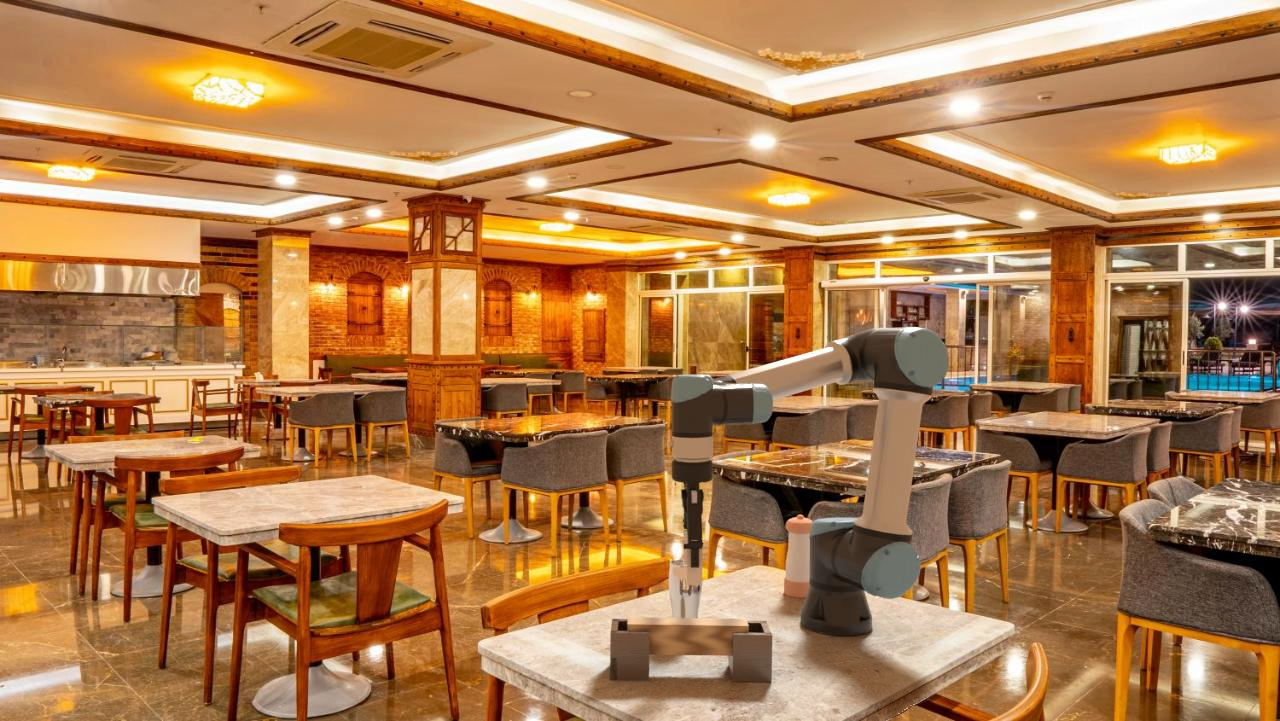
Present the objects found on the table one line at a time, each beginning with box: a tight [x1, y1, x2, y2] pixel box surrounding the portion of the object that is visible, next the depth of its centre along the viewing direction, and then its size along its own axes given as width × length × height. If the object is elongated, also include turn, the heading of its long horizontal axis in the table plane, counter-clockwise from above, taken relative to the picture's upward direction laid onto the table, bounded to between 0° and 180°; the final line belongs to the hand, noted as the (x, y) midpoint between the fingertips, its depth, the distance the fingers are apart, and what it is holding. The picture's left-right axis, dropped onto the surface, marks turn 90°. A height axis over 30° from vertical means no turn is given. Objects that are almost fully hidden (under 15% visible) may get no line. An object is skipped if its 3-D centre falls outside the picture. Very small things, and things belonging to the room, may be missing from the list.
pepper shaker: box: [783, 514, 814, 599], centre depth 212 cm, size 7×7×19 cm
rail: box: [627, 616, 749, 657], centre depth 161 cm, size 22×4×6 cm, turn 90°
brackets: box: [609, 618, 773, 683], centre depth 161 cm, size 29×8×8 cm, turn 89°
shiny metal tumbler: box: [668, 557, 703, 618], centre depth 182 cm, size 7×7×15 cm
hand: (692, 574), depth 161 cm, fingers open, 13 cm apart
